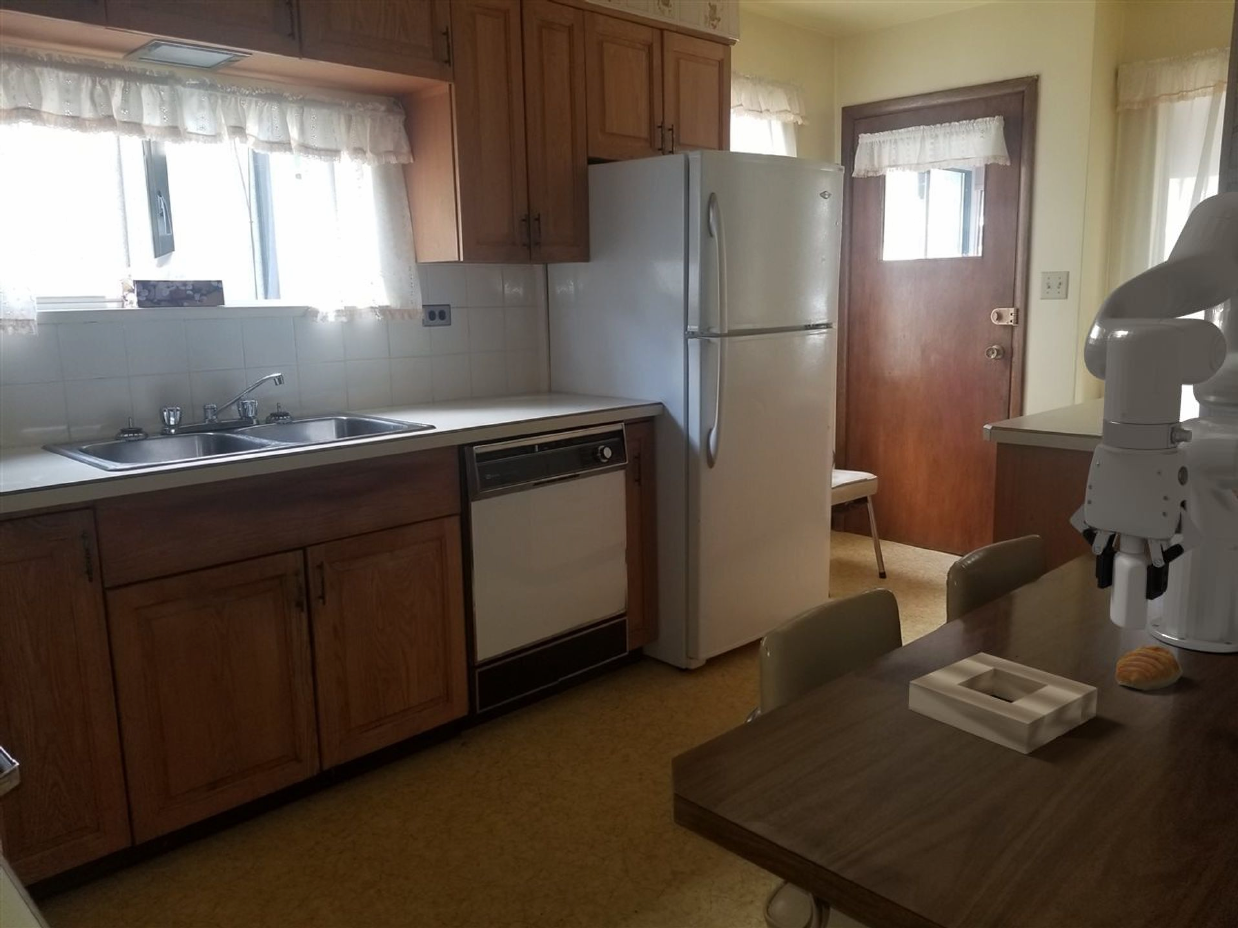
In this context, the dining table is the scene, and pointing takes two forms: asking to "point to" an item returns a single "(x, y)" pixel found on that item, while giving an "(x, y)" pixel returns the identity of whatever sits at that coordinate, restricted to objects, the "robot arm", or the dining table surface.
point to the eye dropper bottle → (1129, 584)
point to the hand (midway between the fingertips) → (1130, 589)
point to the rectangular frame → (1021, 725)
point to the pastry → (1148, 668)
